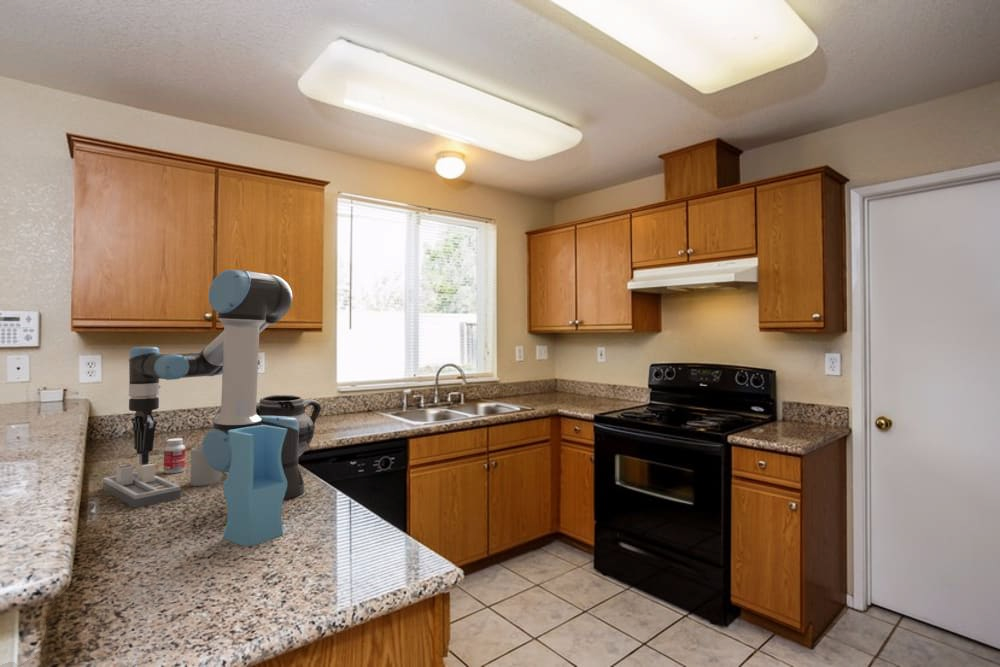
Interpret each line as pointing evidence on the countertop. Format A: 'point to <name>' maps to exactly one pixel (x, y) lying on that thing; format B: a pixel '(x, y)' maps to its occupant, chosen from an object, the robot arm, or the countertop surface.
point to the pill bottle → (174, 456)
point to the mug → (202, 469)
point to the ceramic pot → (292, 414)
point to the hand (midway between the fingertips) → (143, 473)
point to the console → (142, 491)
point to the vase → (255, 485)
